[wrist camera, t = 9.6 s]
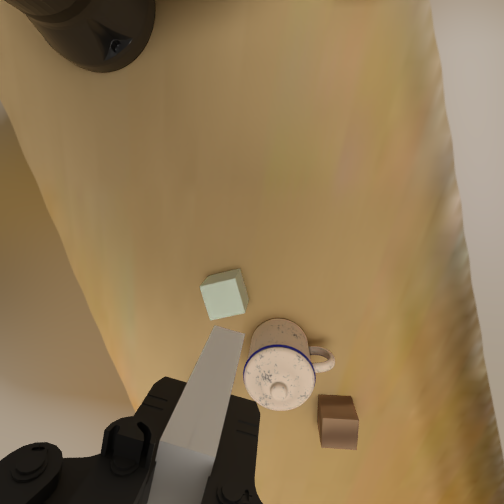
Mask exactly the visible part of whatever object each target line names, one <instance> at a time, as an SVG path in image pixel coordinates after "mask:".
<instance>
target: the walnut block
mask: <svg viewBox="0 0 504 504" xmlns="http://www.w3.org/2000/svg"><path fill="white" fill-rule="evenodd" d="M317 422H318V429H319V435H320V442H321V447H322V448H336V449H350V450H357V440H358V427H359V419H358V416H357V413H356V410H355V407H354V404H353V401H352V398H351V396H337V395H318V419H317Z"/></svg>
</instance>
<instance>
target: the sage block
mask: <svg viewBox="0 0 504 504" xmlns="http://www.w3.org/2000/svg"><path fill="white" fill-rule="evenodd" d="M200 290H201V293H202V296H203V299H204V302H205V306H206V309H207V312H208V315H209V318H210V320H215V319H220V318H224V317H229V316H234V315H238V314H243V313H245V312H246V308H247V305H248V301H249V298H248V294H247V291H246V287H245V283H244V280H243V276H242V273H241V269H240V268H239V269H235V270H231V271H227V272H222V273H218V274H214V275H210V276H208V277H207V278H206V279H205V280H204V282H203V283H202V284H201V285H200Z"/></svg>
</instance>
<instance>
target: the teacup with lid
mask: <svg viewBox="0 0 504 504" xmlns="http://www.w3.org/2000/svg"><path fill="white" fill-rule="evenodd" d="M310 355H320V356H323V357H325V358H327V359H328V360H327V361H325V362H320V363H311V358H310ZM334 365H335V358H334V355H333V354H332V352H330V351H329V350H328V349H326V348H323V347H319V346H308V341H307V338H306V335H305V333H304V332H303V330H302V329H301V328H300V327H299V326H298V325H297V324H295V323H294V322H292V321H289V320H286V319H271V320H268V321H266V322H264V323H262V324H261V325H260V326H258V328H257V329H256V330H255V332H254V333H253V336H252V339H251V344H250V350H249V355H248V360H247V362H246V364H245V367H244V371H243V379H244V384H245V387H246V389H247V391H248V393H249V395H250V396H251V397H252V398H253V399H254V400H255V401H256V402H257V403H258V404H260V405H261V406H263V407H265V408H268V409H271V410H276V411H285V410H291V409H294V408H296V407H298V406H300V405H302V404H303V403H304V402H305V401H306V400H307V399H308V398H309V397H310V395H311V393H312V391H313V389H314V386H315V379H316V378H315V373H317V372H325V371H328V370H330V369H332V368H333V367H334Z"/></svg>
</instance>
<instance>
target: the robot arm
mask: <svg viewBox="0 0 504 504" xmlns="http://www.w3.org/2000/svg"><path fill="white" fill-rule="evenodd" d="M5 1H6V2H8V3H9V4H11V5H12V6H14V7H16V8H17V9H19V10H20V11H22V12H23V13H24V14H26V16H27V17H28V18H29V20H30V21H31V22H32V23H33V25H34V26H35V27H36V28H37V30H38V31H39V32H40V33H41V34H42V36H43V37H44V38H45V40H46V41H47V42H48V43H49V45H50V46H51V47H52V48H53V49H54V50H56V51H57V52H58V53H59V54H60V55H61V56H63V57H64V58H66V59H68V60H69V61H71V62H73V63H74V64H76V65H78V66H79V67H82V68H84V69H86V70H90V71H94V72H110V71H114V70H118V69H120V68H122V67H124V66H126V65H128V64H129V63H131V62H132V61H133V60H134V59H135V58H136V57H137V56H138V55H139V54H140V53H141V51H142V50H143V49H144V47H145V45H146V44H147V42H148V40H149V37H150V35H151V32H152V28H153V24H154V17H155V0H5ZM244 337H245V334H244V333H240V332H237V331H233V330H230V329H226V328H223V327H219V326H215V325H214V328H213V330H212V332H211V334H210V336H209V338H208V340H207V342H206V344H205V346H204V349H203V351H202V353H201V355H200V357H199V359H198V361H197V363H196V365H195V367H194V370H193V372H192V374H191V376H190V378H189V380H188V382H187V383H186V382H183V381H179V380H176V379H172V378H169V377H166V376H165V377H164V378H162V379H161V380H159V381H158V382H156V383H155V384H154V385H153V387H152V388H151V390H150V391H149V393H148V395H147V396H146V397H145V399H144V401H143V402H142V404H141V405H140V407H139V408H138V410H137V412H136V413H135V415H134V416H131V417H125V418H120V419H119V420H116V421H115V422H112V423H111V424H110V425H109V426H108V427H107V428H106V429H105V431H104V437H103V443H102V449H101V454H98V455H95V456H91V457H84V458H63V457H62V452H61V450H60V449H59V448H58V447H57V446H56V445H53V444H50V443H47V442H44V443H43V442H42V443H33V444H29V445H26V446H23V447H21V448H19V449H17V450H16V451H14V452H12V453H10V454H9V455H7V456H6V457H5V458H3V459H2V460H1V461H0V504H263V503H262V502H261V501H260V499H259V497H258V495H257V492H256V488H255V479H254V478H255V466H256V455H257V444H258V433H259V422H260V412H259V409H258V406H257V404H256V402H255V401H251V400H248V399H245V398H241V397H238V396H234V395H231V391H232V387H233V383H234V378H235V374H236V370H237V366H238V362H239V358H240V354H241V349H242V345H243V341H244Z"/></svg>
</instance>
